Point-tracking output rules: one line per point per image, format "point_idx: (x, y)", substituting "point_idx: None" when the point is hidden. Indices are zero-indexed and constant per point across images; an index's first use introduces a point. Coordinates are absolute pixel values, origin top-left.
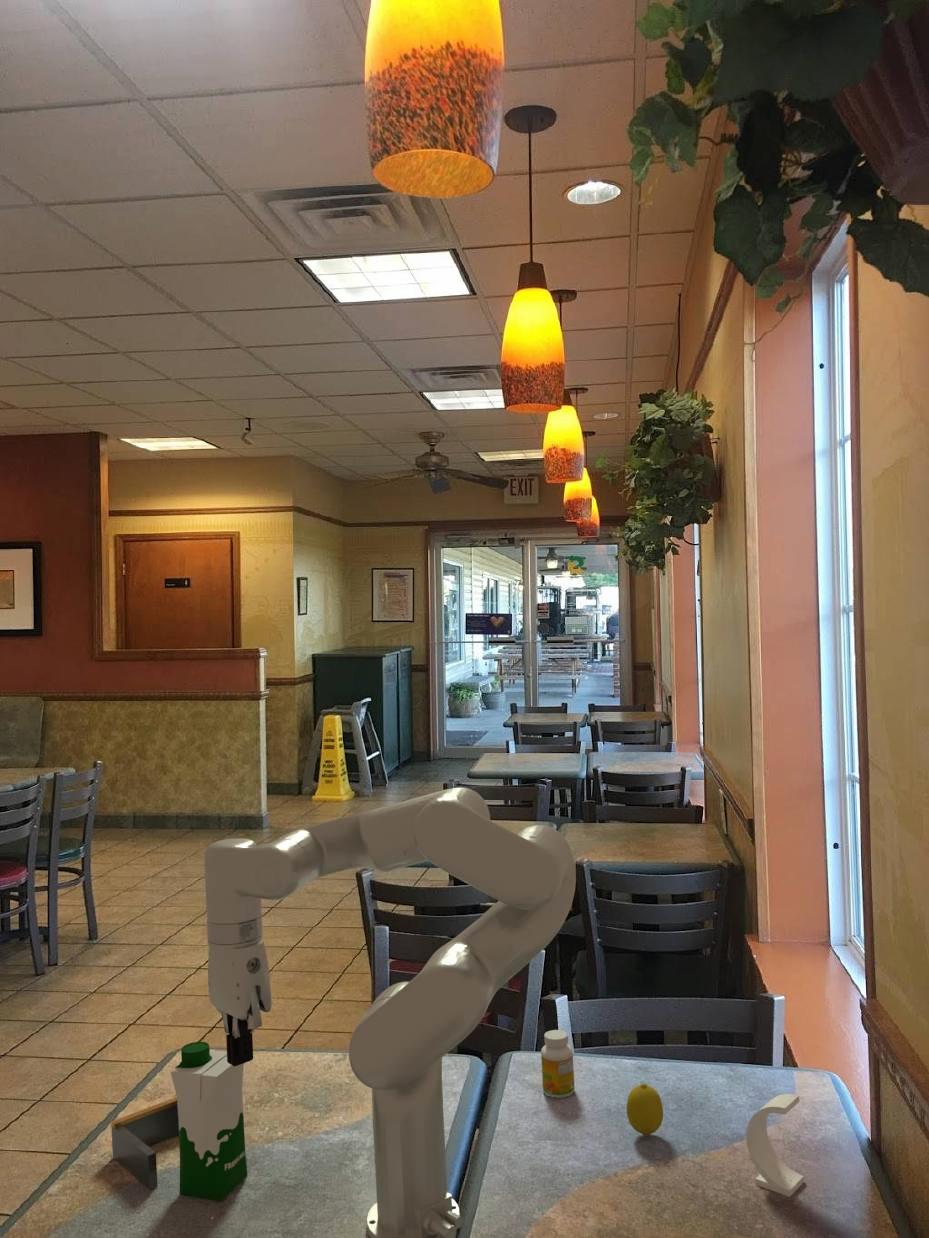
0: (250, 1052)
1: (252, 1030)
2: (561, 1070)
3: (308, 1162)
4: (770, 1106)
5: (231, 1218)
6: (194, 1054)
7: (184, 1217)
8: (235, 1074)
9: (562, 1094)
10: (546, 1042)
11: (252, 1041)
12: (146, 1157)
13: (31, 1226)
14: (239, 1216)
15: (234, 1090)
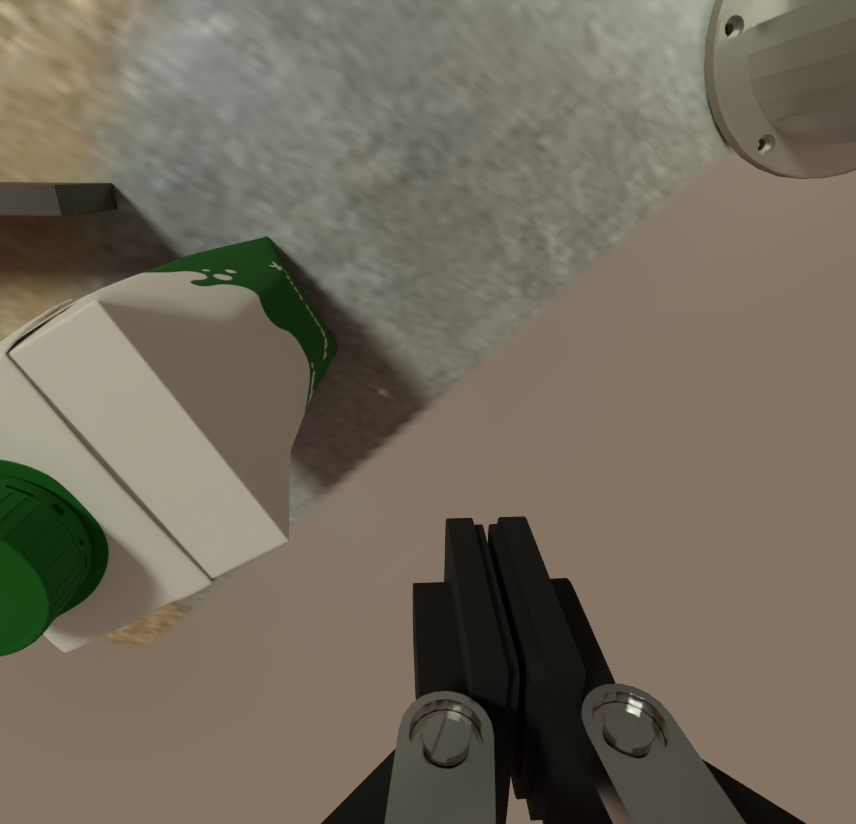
0: (571, 586)
1: (664, 725)
2: None
3: (328, 50)
4: None
5: (421, 364)
6: (53, 616)
7: (336, 434)
8: (215, 384)
9: None
10: None
11: (556, 598)
12: None
13: (149, 638)
14: (428, 348)
15: (261, 383)
